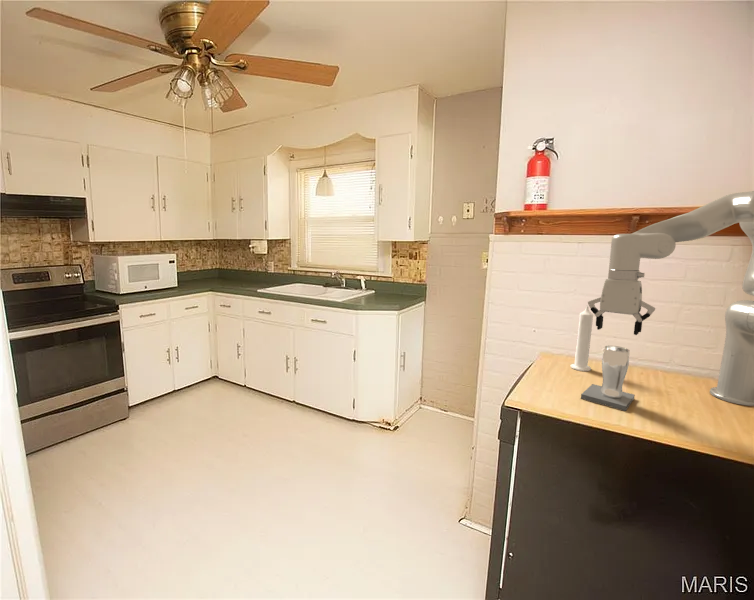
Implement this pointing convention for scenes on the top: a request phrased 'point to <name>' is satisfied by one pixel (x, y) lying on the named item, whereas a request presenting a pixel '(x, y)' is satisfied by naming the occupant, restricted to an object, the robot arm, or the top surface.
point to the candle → (583, 341)
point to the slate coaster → (607, 398)
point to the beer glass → (614, 370)
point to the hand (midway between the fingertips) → (617, 331)
